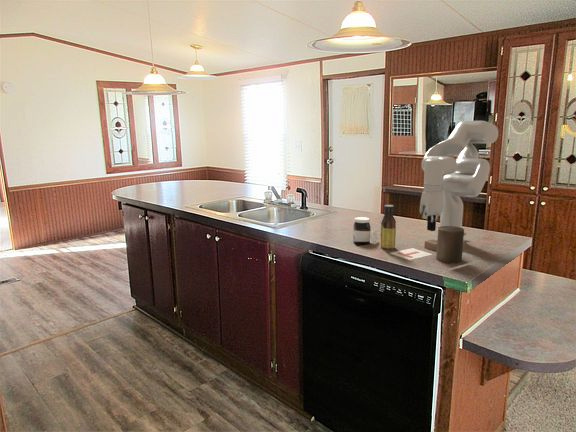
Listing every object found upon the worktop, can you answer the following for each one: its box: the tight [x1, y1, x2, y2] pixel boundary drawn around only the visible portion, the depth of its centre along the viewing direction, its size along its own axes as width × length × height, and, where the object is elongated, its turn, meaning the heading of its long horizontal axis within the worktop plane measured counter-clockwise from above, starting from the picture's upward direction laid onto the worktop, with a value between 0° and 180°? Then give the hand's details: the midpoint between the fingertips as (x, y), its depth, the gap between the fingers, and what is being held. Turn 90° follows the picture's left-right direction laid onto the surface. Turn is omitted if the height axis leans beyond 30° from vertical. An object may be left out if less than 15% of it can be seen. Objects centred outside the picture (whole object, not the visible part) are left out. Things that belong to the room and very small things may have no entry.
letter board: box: [389, 247, 433, 261], centre depth 175 cm, size 14×11×1 cm
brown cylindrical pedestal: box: [435, 225, 465, 264], centre depth 165 cm, size 10×10×15 cm
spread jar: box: [352, 216, 379, 246], centre depth 192 cm, size 12×11×12 cm
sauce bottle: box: [380, 204, 397, 251], centre depth 181 cm, size 6×6×20 cm
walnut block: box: [423, 238, 437, 252], centre depth 182 cm, size 6×6×4 cm
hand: (431, 230), depth 179 cm, fingers closed
